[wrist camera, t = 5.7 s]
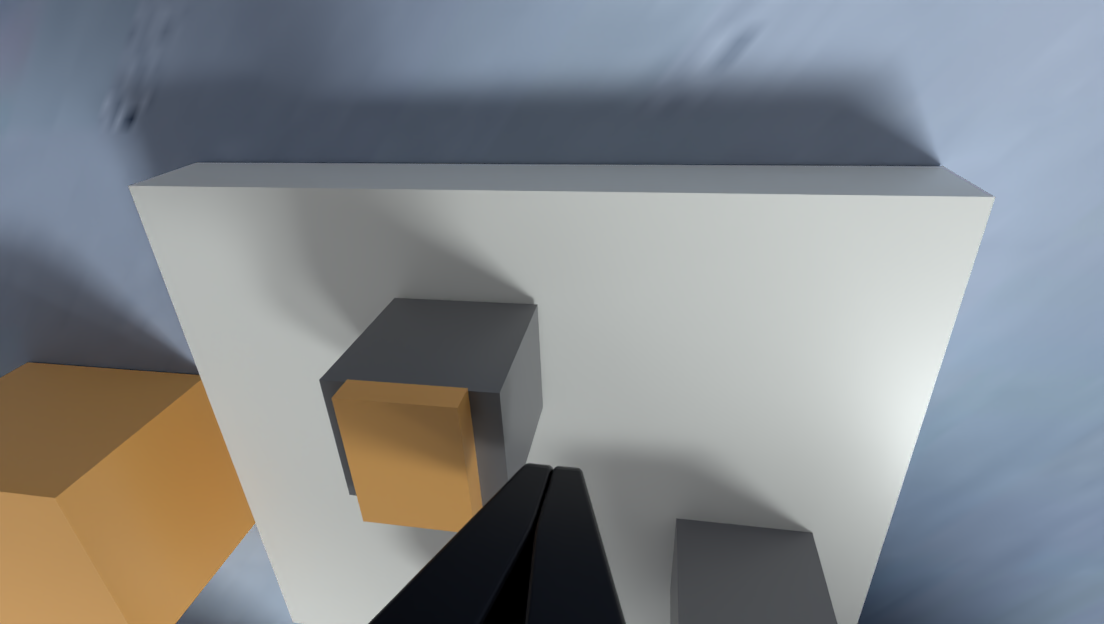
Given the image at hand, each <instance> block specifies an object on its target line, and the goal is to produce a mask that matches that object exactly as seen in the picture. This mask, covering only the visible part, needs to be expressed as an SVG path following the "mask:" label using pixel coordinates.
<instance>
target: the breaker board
mask: <svg viewBox="0 0 1104 624" xmlns="http://www.w3.org/2000/svg"><path fill="white" fill-rule="evenodd" d="M128 187H129V189H130V192H131V195H132V197H133V200H134V203H135V205H136V208H137V210H138V213H139V216H140V218H141V221H142V224H143V226H144V229H145V232H146V234H147V237H148V240H149V242H150V245H151V248H152V250H153V253H154V255H155V258H156V261H157V263H158V266H159V269H160V271H161V274H162V277H163V279H164V282H165V285H166V287H167V290H168V293H169V295H170V298H171V300H172V303H173V306H174V308H175V311H176V314H177V316H178V319H179V322H180V324H181V327H182V330H183V332H184V335H185V337H186V340H187V343H188V345H189V348H190V351H191V353H192V356H193V359H194V361H195V364H196V367H197V369H198V372H199V375H200V377H201V380H202V382H203V385H204V388H205V390H206V393H207V396H208V398H209V401H210V404H211V406H212V409H213V412H214V414H215V417H216V420H217V422H218V425H219V427H220V430H221V433H222V435H223V438H224V441H225V443H226V446H227V449H228V451H229V454H230V457H231V459H232V462H233V465H234V467H235V470H236V472H237V475H238V478H239V480H240V483H241V486H242V488H243V491H244V494H245V496H246V499H247V502H248V504H249V507H250V509H251V512H252V515H253V517H254V520H255V523H256V525H257V528H258V531H259V533H260V536H261V539H262V541H263V544H264V547H265V549H266V552H267V554H268V557H269V560H270V562H271V565H272V568H273V570H274V573H275V576H276V578H277V581H278V584H279V586H280V589H281V592H282V594H283V597H284V599H285V602H286V605H287V607H288V610H289V613H290V615H291V618H292V621H293V622H296V623H303V624H368V623H369V622H370V621H371V620H372V619H373V618H374V617H375V616H376V615H377V614H378V613H379V612H380V611H381V610H382V609H383V608H384V607H385V606H386V605H387V604H388V603H389V602H390V601H391V600H392V599H393V598H394V597H395V596H396V595H397V594H398V593H399V592H400V591H401V590H402V589H403V588H404V587H405V585H406V584H407V583H408V582H409V581H410V580H411V579H412V578H413V577H414V576H415V575H416V574H417V573H418V572H419V571H420V570H421V569H422V568H423V567H424V566H425V565H426V564H427V563H428V562H429V561H430V560H431V559H432V558H433V557H434V556H435V555H436V554H437V553H438V552H439V551H440V550H441V549H442V548H443V547H444V546H445V545H446V544H447V543H448V542H449V541H450V540H451V539H452V538H453V537H454V536H455V535H456V534H457V533H458V532H451V531H443V530H434V529H426V528H417V527H408V526H400V525H391V524H382V523H374V522H365V521H363V518H362V514H361V511H360V507H359V503H358V499H357V496H355V495H349V491H348V487H347V483H346V480H345V476H344V472H343V468H342V465H341V461H340V457H339V453H338V450H337V446H336V442H335V438H334V434H333V431H332V427H331V423H330V419H329V416H328V412H327V408H326V404H325V401H324V397H323V393H322V389H321V386H320V382H319V379H320V378H321V377H322V376H323V375H324V374H325V373H326V372H327V371H328V370H329V369H330V367H331V366H332V365H333V364H334V363H335V362H336V361H337V360H338V359H339V358H340V357H341V356H342V354H343V353H344V352H345V351H346V350H347V349H348V348H349V347H350V346H351V345H352V344H353V342H354V341H355V340H356V339H357V338H358V337H359V336H360V335H361V334H362V333H363V332H364V331H365V329H366V328H367V327H368V326H369V325H370V324H371V323H372V322H373V321H374V320H375V319H376V318H377V316H378V315H379V314H380V313H381V312H382V311H383V310H384V309H385V308H386V307H387V306H388V304H389V303H390V302H391V301H392V300H393V299H394V298H409V299H430V300H452V301H473V302H495V303H517V304H538V323H539V342H540V361H541V379H542V398H543V409H542V412H541V415H540V419H539V422H538V425H537V428H536V432H535V435H534V438H533V442H532V445H531V448H530V451H529V455H528V458H527V461H526V464H527V463H534V464H545V465H550V466H552V467H553V469H554V468H555V467H556V466H567V467H577V468H580V469H581V470H582V471H583V474H584V478H585V481H586V485H587V488H588V492H589V495H590V499H591V502H592V506H593V509H594V513H595V516H596V520H597V523H598V527H599V530H600V534H601V537H602V541H603V545H604V548H605V552H606V555H607V559H608V562H609V566H610V569H611V573H612V576H613V580H614V583H615V587H616V590H617V594H618V597H619V601H620V604H621V608H622V611H623V615H624V618H625V622H626V624H857V623H858V620H859V617H860V614H861V611H862V608H863V605H864V602H865V599H866V596H867V593H868V589H869V586H870V583H871V580H872V577H873V574H874V571H875V568H876V565H877V562H878V558H879V555H880V552H881V549H882V546H883V543H884V540H885V537H886V534H887V531H888V528H889V524H890V521H891V518H892V515H893V512H894V509H895V506H896V503H897V500H898V497H899V493H900V490H901V487H902V484H903V481H904V478H905V475H906V472H907V469H908V466H909V463H910V459H911V456H912V453H913V450H914V447H915V444H916V441H917V438H918V435H919V432H920V428H921V425H922V422H923V419H924V416H925V413H926V410H927V407H928V404H929V401H930V398H931V394H932V391H933V388H934V385H935V382H936V379H937V376H938V373H939V370H940V367H941V364H942V360H943V357H944V354H945V351H946V348H947V345H948V342H949V339H950V336H951V333H952V329H953V326H954V323H955V320H956V317H957V314H958V311H959V308H960V305H961V302H962V299H963V295H964V292H965V289H966V286H967V283H968V280H969V277H970V274H971V271H972V268H973V264H974V261H975V258H976V255H977V252H978V249H979V246H980V243H981V240H982V237H983V234H984V230H985V227H986V224H987V221H988V218H989V215H990V212H991V209H992V206H993V203H994V199H995V197H994V196H993V195H991V194H989V193H988V192H986V191H984V190H983V189H981V188H979V187H978V186H976V185H974V184H972V183H971V182H969V181H967V180H966V179H964V178H962V177H961V176H959V175H957V174H955V173H954V172H952V171H950V170H949V169H947V168H945V167H944V166H781V165H584V164H387V163H194V164H191V165H188V166H185V167H182V168H179V169H176V170H173V171H170V172H167V173H164V174H161V175H158V176H155V177H153V178H150V179H147V180H144V181H141V182H138V183H135V184H132V185H129V186H128Z"/></svg>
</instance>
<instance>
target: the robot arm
mask: <svg viewBox="0 0 1104 624" xmlns="http://www.w3.org/2000/svg"><path fill="white" fill-rule="evenodd" d="M368 624H626V622H625V618H624V615H623V611H622V608H621V604H620V601H619V597H618V594H617V590H616V587H615V583H614V580H613V576H612V573H611V569H610V566H609V562H608V559H607V555H606V552H605V548H604V545H603V541H602V537H601V534H600V530H599V527H598V523H597V520H596V516H595V513H594V509H593V506H592V502H591V499H590V495H589V492H588V488H587V485H586V481H585V478H584V474H583V471H582V470H581V469H580V468H577V467H567V466H556V467H555V468H554V469H553V467H552V466H550V465H545V464H534V463H527V464H525V465H523V466H522V467H521V468H520V469H519V470H518V471H517V472H516V473H515V474H514V475H513V476H512V477H511V479H510V480H509V481H508V482H507V483H506V484H505V485H504V486H503V487H502V488H501V489H500V490H499V491H498V492H497V493H496V494H495V495H494V496H493V497H492V498H491V499H490V500H489V501H488V502H487V503H486V504H485V505H484V506H483V507H482V508H481V509H480V510H479V511H478V512H477V513H476V514H475V515H474V516H473V517H472V518H471V519H470V520H469V521H468V522H467V523H466V524H465V525H464V526H463V527H462V528H461V529H460V530H459V531H458V533H457V534H456V535H455V536H454V537H453V538H452V539H451V540H450V541H449V542H448V543H447V544H446V545H445V546H444V547H443V548H442V549H441V550H440V551H439V552H438V553H437V554H436V555H435V556H434V557H433V558H432V559H431V560H430V561H429V562H428V563H427V564H426V565H425V566H424V567H423V568H422V569H421V570H420V571H419V572H418V573H417V574H416V575H415V576H414V577H413V578H412V579H411V580H410V581H409V582H408V583H407V584H406V585H405V587H404V588H403V589H402V590H401V591H400V592H399V593H398V594H397V595H396V596H395V597H394V598H393V599H392V600H391V601H390V602H389V603H388V604H387V605H386V606H385V607H384V608H383V609H382V610H381V611H380V612H379V613H378V614H377V615H376V616H375V617H374V618H373V619H372V620H371V621H370V622H369V623H368Z"/></svg>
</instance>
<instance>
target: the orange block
mask: <svg viewBox="0 0 1104 624" xmlns="http://www.w3.org/2000/svg"><path fill="white" fill-rule="evenodd" d="M254 524H255V520H254V517H253V515H252V512H251V509H250V507H249V504H248V502H247V499H246V496H245V494H244V491H243V488H242V486H241V483H240V480H239V478H238V475H237V472H236V470H235V467H234V465H233V462H232V459H231V457H230V454H229V451H228V449H227V446H226V443H225V441H224V438H223V435H222V433H221V430H220V427H219V425H218V422H217V420H216V417H215V414H214V412H213V409H212V406H211V404H210V401H209V398H208V396H207V393H206V390H205V388H204V385H203V382H202V380H201V377H200V375H192V374H179V373H165V372H152V371H138V370H125V369H111V368H98V367H84V366H71V365H58V364H44V363H31V362H27V363H26V364H24V365H22V366H20V367H19V368H17V369H15V370H13V371H11V372H10V373H8V374H6V375H4V376H3V377H1V378H0V624H176V623H177V621H178V620H179V619H180V617H181V616H182V615H183V614H184V612H185V611H186V610H187V609H188V607H189V606H190V605H191V604H192V602H193V601H194V600H195V598H196V597H197V596H198V595H199V593H200V592H201V591H202V590H203V588H204V587H205V586H206V585H207V583H208V582H209V581H210V579H211V578H212V577H213V576H214V574H215V573H216V572H217V571H218V569H219V568H220V567H221V566H222V564H223V563H224V562H225V561H226V559H227V558H228V557H229V555H230V554H231V553H232V552H233V550H234V549H235V548H236V547H237V545H238V544H239V543H240V542H241V540H242V539H243V538H244V536H245V535H246V534H247V533H248V531H249V530H250V529H251V528H252V526H253V525H254Z"/></svg>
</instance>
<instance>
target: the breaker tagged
mask: <svg viewBox="0 0 1104 624" xmlns="http://www.w3.org/2000/svg"><path fill="white" fill-rule="evenodd" d="M319 382H320V386H321V389H322V393H323V397H324V401H325V404H326V408H327V412H328V416H329V419H330V423H331V427H332V431H333V434H334V438H335V442H336V446H337V450H338V453H339V457H340V461H341V465H342V468H343V472H344V476H345V480H346V483H347V487H348V491H349V495H355V496H357V499H358V503H359V507H360V511H361V514H362V518H363V521H365V522H374V523H382V524H391V525H400V526H408V527H417V528H426V529H434V530H443V531H451V532H458V531H459V530H460V529H461V528H462V527H463V526H464V525H465V524H466V523H467V522H468V521H469V520H470V519H471V518H472V517H473V516H474V515H475V514H476V513H477V512H478V511H479V510H480V509H481V508H482V507H483V506H484V505H485V504H486V503H487V502H488V501H489V500H490V499H491V498H492V497H493V496H494V495H495V494H496V493H497V492H498V491H499V490H500V489H501V488H502V487H503V486H504V485H505V484H506V483H507V482H508V481H509V480H510V479H511V477H512V476H513V475H514V474H515V473H516V472H517V471H518V470H519V469H520V468H521V467H522V466H523V465H525V464H526V461H527V458H528V455H529V451H530V448H531V445H532V442H533V438H534V435H535V432H536V428H537V425H538V422H539V419H540V415H541V412H542V409H543V398H542V379H541V361H540V342H539V323H538V304H517V303H495V302H473V301H452V300H430V299H409V298H394V299H393V300H392V301H391V302H390V303H389V304H388V306H387V307H386V308H385V309H384V310H383V311H382V312H381V313H380V314H379V315H378V316H377V318H376V319H375V320H374V321H373V322H372V323H371V324H370V325H369V326H368V327H367V328H366V329H365V331H364V332H363V333H362V334H361V335H360V336H359V337H358V338H357V339H356V340H355V341H354V342H353V344H352V345H351V346H350V347H349V348H348V349H347V350H346V351H345V352H344V353H343V354H342V356H341V357H340V358H339V359H338V360H337V361H336V362H335V363H334V364H333V365H332V366H331V367H330V369H329V370H328V371H327V372H326V373H325V374H324V375H323V376H322V377H321V378H320V379H319Z"/></svg>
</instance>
